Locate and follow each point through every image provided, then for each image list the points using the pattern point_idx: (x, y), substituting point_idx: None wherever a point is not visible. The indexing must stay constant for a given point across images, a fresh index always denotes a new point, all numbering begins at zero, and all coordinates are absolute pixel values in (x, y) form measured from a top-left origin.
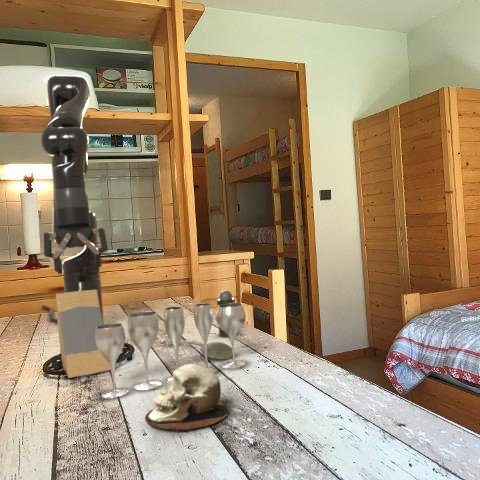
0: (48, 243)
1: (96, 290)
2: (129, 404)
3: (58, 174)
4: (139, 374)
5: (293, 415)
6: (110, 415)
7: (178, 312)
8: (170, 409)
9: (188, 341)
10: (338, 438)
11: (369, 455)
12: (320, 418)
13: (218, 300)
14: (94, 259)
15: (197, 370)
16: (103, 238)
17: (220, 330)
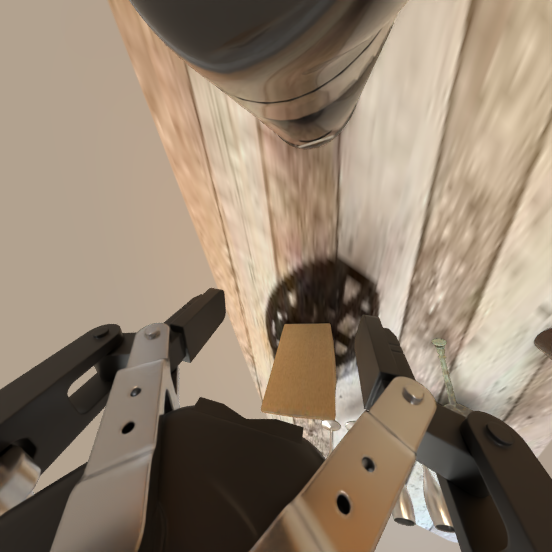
0: (56, 449)
1: (333, 418)
2: (337, 440)
3: None
4: (356, 404)
5: (415, 492)
6: (324, 444)
7: (405, 519)
8: None
9: (446, 380)
10: (415, 508)
11: (415, 516)
12: (424, 500)
13: None
14: (361, 385)
15: None
16: None
17: (544, 350)
